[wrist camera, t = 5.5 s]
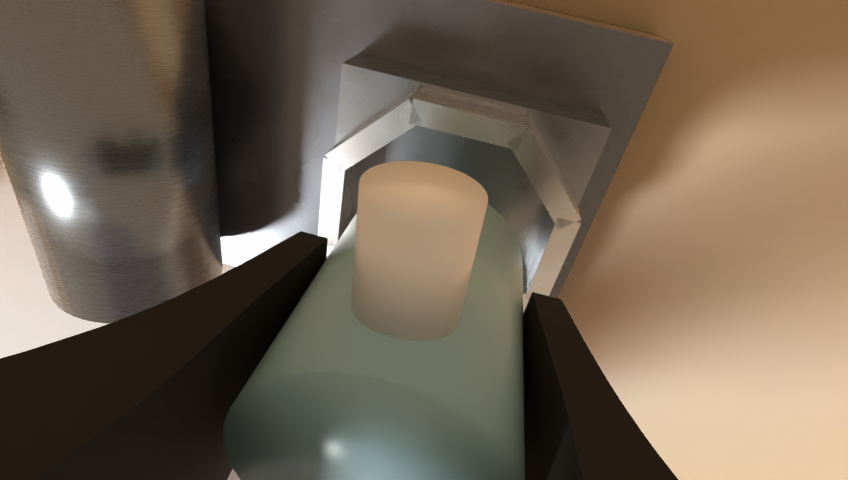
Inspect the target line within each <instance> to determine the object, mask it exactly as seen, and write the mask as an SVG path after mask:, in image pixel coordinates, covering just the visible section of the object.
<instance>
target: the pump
mask: <svg viewBox="0 0 848 480" xmlns="http://www.w3.org/2000/svg"><path fill="white" fill-rule="evenodd" d="M223 444H224V448H225V451H226V455H227V457H228V459H229V462H230V464H231V466H232V468H233V469H234V471H235V472H236V474H237V476H238V477H239V478H240V480H525V443H524V343H523V263H522V254H521V250H520V246H519V243H518V241H517V238H516V236H515V234H514V232H513V231H512V229H511V227H510V226H509V224H508V223H507V222H506V221H505V219H504V218H503V217H502V216H501V215H500V214H499V213H498V212H497V211H496V210H495V209H494V208H493V207H492V206H490V205H489V204H488V195H487V193H486V191H485V189H484V188H483V187H482V186H481V185H480V184H479V183H478V182H477V181H476V180H474V179H473V178H471V177H470V176H468V175H466V174H464V173H462V172H460V171H457V170H455V169H452V168H449V167H446V166H442V165H438V164H433V163H427V162H419V161H396V162H388V163H383V164H380V165H377V166H374V167H372V168H370V169H368V170H367V171H365V172H364V173H363V174H362V176H361V178H360V180H359V190H358V206H357V213H356V215H355V216H354V217H353V219H352V220H351V222H350V224H349V225H348V227H347V228H346V230H345V231H344V233H343V234H342V236H341V237H340V239H339V241H338V242H337V244H336V245H335V247H334V248H333V250H332V251H331V253H330V254H329V256H328V258H327V259H326V261H325V262H324V264H323V265H322V267H321V268H320V270H319V271H318V273H317V275H316V276H315V278H314V279H313V281H312V282H311V284H310V285H309V287H308V288H307V290H306V292H305V293H304V295H303V296H302V298H301V299H300V301H299V302H298V304H297V305H296V307H295V309H294V310H293V312H292V313H291V315H290V316H289V318H288V319H287V321H286V322H285V324H284V326H283V327H282V329H281V330H280V332H279V333H278V335H277V336H276V338H275V339H274V341H273V343H272V344H271V346H270V347H269V349H268V350H267V352H266V353H265V355H264V356H263V358H262V360H261V361H260V363H259V364H258V366H257V367H256V369H255V370H254V372H253V373H252V375H251V377H250V378H249V380H248V381H247V383H246V384H245V386H244V387H243V389H242V390H241V392H240V394H239V395H238V397H237V398H236V400H235V401H234V403H233V404H232V406H231V407H230V409H229V411H228V413H227V416H226V418H225V420H224V426H223Z"/></svg>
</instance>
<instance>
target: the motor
mask: <svg viewBox="0 0 848 480" xmlns="http://www.w3.org/2000/svg"><path fill="white" fill-rule="evenodd" d="M672 46H673V43H671V42H669V41H668V40H666V39H664V38H662V37H660V36H658V35H654V34H649V33H645V32H641V31H636V30H632V29H628V28H624V27H619V26H615V25H611V24H606V23H602V22H598V21H593V20H589V19H585V18H580V17H576V16H572V15H567V14H563V13H559V12H554V11H550V10H546V9H541V8H537V7H533V6H528V5H524V4H520V3H515V2H511V1H507V0H0V152H1V155H2V158H3V161H4V164H5V166H6V169H7V172H8V175H9V178H10V181H11V184H12V187H13V190H14V192H15V195H16V198H17V201H18V204H19V207H20V210H21V213H22V216H23V218H24V221H25V224H26V227H27V230H28V233H29V236H30V239H31V242H32V244H33V247H34V250H35V253H36V256H37V259H38V262H39V265H40V268H41V271H42V273H43V276H44V279H45V282H46V285H47V288H48V291H49V294H50V296H51V298H52V300H53V302H54V303H55V304H56V305H57V306H58V307H59V308H61V309H62V310H63V311H65V312H66V313H68V314H70V315H72V316H75V317H78V318H81V319H84V320H88V321H93V322H101V323H113V322H115V321H118V320H121V319H123V318H126V317H128V316H131V315H133V314H136V313H139V312H141V311H144V310H146V309H149V308H151V307H153V306H156V305H158V304H160V303H163V302H165V301H167V300H170V299H172V298H174V297H176V296H178V295H180V294H182V293H185V292H187V291H189V290H191V289H193V288H195V287H197V286H199V285H201V284H203V283H205V282H207V281H209V280H212V279H214V278H216V277H218V276H220V275H221V273H222V268H223V263H224V264H228V265H232V266H235V267H237V266H239V265H241V264H242V263H244V262H246V261H248V260H250V259H252V258H253V257H255V256H257V255H259V254H261V253H262V252H264V251H266V250H268V249H269V248H271V247H273V246H275V245H277V244H278V243H280V242H282V241H284V240H286V239H287V238H289V237H291V236H293V235H295V234H296V233H298V232H300V231H302V232H306V233H310V234H314V235H318V236H321V237H325V238H328V244H327V255H326V259H327V258H328V256H329V254H330V253H331V251H332V250H333V248H334V247H335V245H336V244H337V242H338V241H339V239H340V237H341V236H342V234H343V233H344V231H345V230H346V228H347V227H348V225H349V224H350V222H351V220H352V219H353V217H354V216H355V215H356V213H357V206H358V190H359V180H360V178H361V176H362V174H363V173H364V172H365V171H367V170H368V169H370V168H372V167H374V166H377V165H380V164H383V163H388V162H396V161H419V162H427V163H433V164H438V165H442V166H446V167H449V168H452V169H455V170H457V171H460V172H462V173H464V174H466V175H468V176H470V177H471V178H473V179H474V180H476V181H477V182H478V183H479V184H480V185H481V186H482V187H483V188H484V189H485V191H486V193H487V195H488V204H489V205H490V206H492V207H493V208H494V209H495V210H496V211H497V212H498V213H499V214H500V215H501V216H502V217H503V218H504V219H505V221H506V222H507V223H508V224H509V226H510V227H511V229H512V231H513V232H514V234H515V236H516V238H517V241H518V243H519V246H520V250H521V254H522V263H523V313H524V311H525V308H526V306H527V304H528V301H529V299H530V296H531V294H532V292H535V293H538V294H542V295H546V296H550V297H554V298H557V297H558V294H559V292H560V290H561V288H562V286H563V283H564V281H565V279H566V277H567V275H568V273H569V270H570V268H571V266H572V264H573V262H574V259H575V257H576V255H577V253H578V251H579V249H580V246H581V244H582V242H583V240H584V238H585V236H586V233H587V231H588V229H589V227H590V225H591V222H592V220H593V218H594V216H595V214H596V212H597V209H598V207H599V205H600V203H601V201H602V198H603V196H604V194H605V192H606V190H607V188H608V185H609V183H610V181H611V179H612V177H613V175H614V172H615V170H616V168H617V166H618V164H619V161H620V159H621V157H622V155H623V153H624V151H625V148H626V146H627V144H628V142H629V140H630V137H631V135H632V133H633V131H634V129H635V127H636V124H637V122H638V120H639V118H640V116H641V114H642V111H643V109H644V107H645V105H646V103H647V100H648V98H649V96H650V94H651V92H652V90H653V87H654V85H655V83H656V81H657V79H658V76H659V74H660V72H661V70H662V68H663V66H664V63H665V61H666V59H667V57H668V55H669V53H670V50H671V48H672Z"/></svg>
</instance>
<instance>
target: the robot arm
mask: <svg viewBox="0 0 848 480" xmlns="http://www.w3.org/2000/svg"><path fill="white" fill-rule="evenodd" d="M327 244H328V238H325V237H321V236H318V235H314V234H310V233H306V232H302V231H300V232H298V233H296V234H295V235H293V236H291V237H289V238H287V239H286V240H284V241H282V242H280V243H278V244H277V245H275V246H273V247H271V248H269V249H268V250H266V251H264V252H262V253H261V254H259V255H257V256H255V257H253V258H252V259H250V260H248V261H246V262H244V263H242V264H241V265H239V266H237V267H235V268H233V269H231V270H229V271H227V272H226V273H224V274H222V275H220V276H218V277H216V278H214V279H212V280H209V281H207V282H205V283H203V284H201V285H199V286H197V287H195V288H193V289H191V290H189V291H187V292H185V293H182V294H180V295H178V296H176V297H174V298H172V299H170V300H167V301H165V302H163V303H160V304H158V305H156V306H153V307H151V308H149V309H146V310H144V311H141V312H139V313H136V314H133V315H131V316H128V317H126V318H123V319H121V320H118V321H115V322H113V323H110V324H107V325H105V326H102V327H99V328H96V329H93V330H90V331H87V332H84V333H81V334H78V335H75V336H72V337H69V338H66V339H63V340H59V341H56V342H53V343H50V344H47V345H44V346H41V347H38V348H35V349H32V350H29V351H25V352H22V353H19V354H15V355H11V356H8V357H4V358H1V359H0V480H240V478H239V477H238V476H237V474H236V472H235V471H234V469H233V468H232V466H231V464H230V462H229V459H228V457H227V455H226V451H225V448H224V444H223V426H224V420H225V418H226V416H227V413H228V411H229V409H230V407H231V406H232V404H233V403H234V401H235V400H236V398H237V397H238V395H239V394H240V392H241V390H242V389H243V387H244V386H245V384H246V383H247V381H248V380H249V378H250V377H251V375H252V373H253V372H254V370H255V369H256V367H257V366H258V364H259V363H260V361H261V360H262V358H263V356H264V355H265V353H266V352H267V350H268V349H269V347H270V346H271V344H272V343H273V341H274V339H275V338H276V336H277V335H278V333H279V332H280V330H281V329H282V327H283V326H284V324H285V322H286V321H287V319H288V318H289V316H290V315H291V313H292V312H293V310H294V309H295V307H296V305H297V304H298V302H299V301H300V299H301V298H302V296H303V295H304V293H305V292H306V290H307V288H308V287H309V285H310V284H311V282H312V281H313V279H314V278H315V276H316V275H317V273H318V271H319V270H320V268H321V267H322V265H323V264H324V262H325V261H326V255H327ZM523 343H524V443H525V480H678V479H677V478H676V476H675V475H674V474H673V473H672V471H671V470H670V469H669V467H668V466H667V465H666V464H665V462H664V461H663V460H662V458H661V457H660V456H659V455H658V453H657V452H656V451H655V449H654V448H653V447H652V445H651V444H650V443H649V441H648V440H647V439H646V437H645V436H644V434H643V433H642V432H641V430H640V429H639V427H638V426H637V424H636V423H635V421H634V420H633V418H632V417H631V416H630V414H629V413H628V411H627V410H626V408H625V407H624V405H623V404H622V402H621V401H620V399H619V398H618V396H617V395H616V393H615V392H614V390H613V388H612V387H611V385H610V384H609V382H608V380H607V379H606V377H605V376H604V374H603V372H602V371H601V369H600V367H599V366H598V364H597V362H596V361H595V359H594V357H593V355H592V354H591V352H590V350H589V348H588V347H587V345H586V343H585V341H584V340H583V338H582V336H581V334H580V332H579V331H578V329H577V327H576V325H575V323H574V322H573V320H572V318H571V316H570V314H569V313H568V311H567V309H566V307H565V305H564V304H563V302H562V300H561V299H558V298H554V297H550V296H546V295H542V294H538V293H535V292H532V294H531V296H530V299H529V301H528V304H527V306H526V308H525V311H524V313H523Z"/></svg>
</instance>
